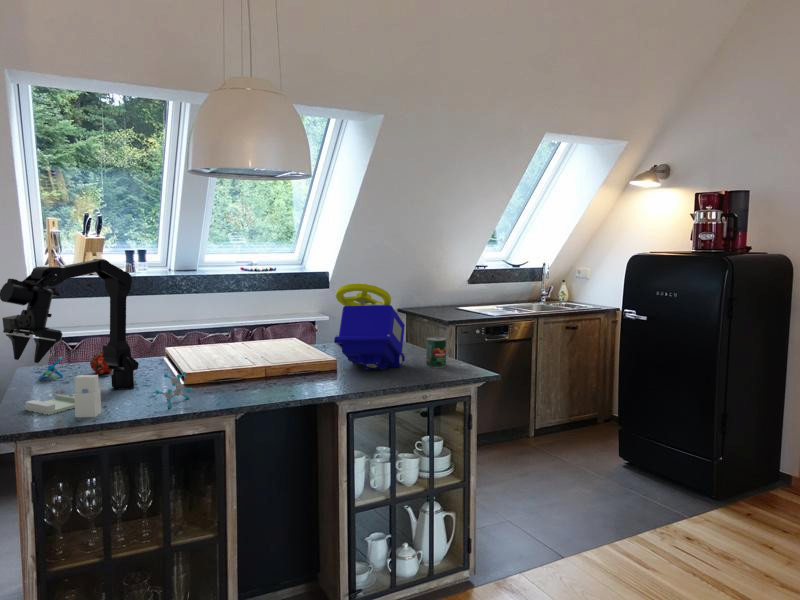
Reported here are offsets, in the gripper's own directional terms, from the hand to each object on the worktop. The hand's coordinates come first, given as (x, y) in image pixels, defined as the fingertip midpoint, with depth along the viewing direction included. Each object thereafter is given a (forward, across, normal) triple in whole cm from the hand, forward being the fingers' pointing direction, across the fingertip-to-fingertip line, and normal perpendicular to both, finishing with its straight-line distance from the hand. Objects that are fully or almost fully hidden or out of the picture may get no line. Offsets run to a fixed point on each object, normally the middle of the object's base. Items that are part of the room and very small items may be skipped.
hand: (26, 361), depth 176 cm
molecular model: (+7, +28, +31) cm, 42 cm away
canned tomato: (-18, +82, +112) cm, 140 cm away
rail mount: (+12, +1, +13) cm, 18 cm away
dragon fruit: (+2, -23, +46) cm, 51 cm away
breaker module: (+13, +17, +11) cm, 24 cm away
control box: (-14, +57, +100) cm, 116 cm away
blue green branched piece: (+6, -34, +33) cm, 48 cm away
